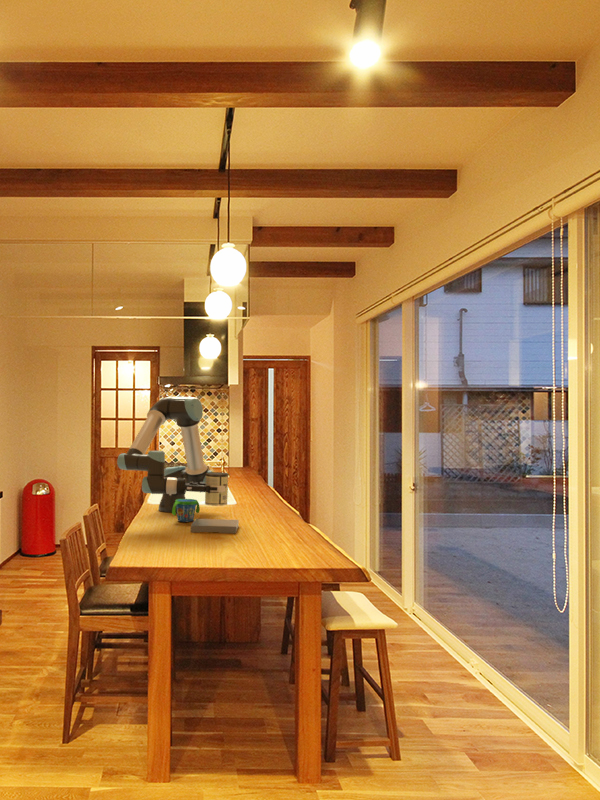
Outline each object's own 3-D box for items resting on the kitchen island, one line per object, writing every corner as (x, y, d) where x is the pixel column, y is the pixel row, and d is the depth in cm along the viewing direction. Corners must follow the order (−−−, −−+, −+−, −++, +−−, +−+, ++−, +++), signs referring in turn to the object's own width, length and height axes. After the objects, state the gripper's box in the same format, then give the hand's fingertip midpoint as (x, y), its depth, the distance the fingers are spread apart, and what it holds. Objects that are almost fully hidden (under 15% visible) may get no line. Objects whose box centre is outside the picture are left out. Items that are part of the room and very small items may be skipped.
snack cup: (192, 518, 331) (193, 497, 331) (205, 521, 323) (206, 500, 323) (165, 521, 320) (166, 499, 320) (178, 524, 312) (178, 502, 312)
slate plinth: (195, 525, 312) (195, 518, 312) (238, 526, 312) (238, 519, 312) (190, 532, 294) (190, 525, 294) (236, 533, 294) (236, 526, 294)
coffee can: (207, 502, 309) (208, 471, 309) (229, 503, 307) (230, 472, 308) (202, 505, 298) (203, 473, 298) (224, 506, 297) (225, 474, 297)
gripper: (180, 491, 314) (227, 492, 314) (172, 497, 291) (223, 499, 292) (180, 475, 314) (228, 476, 315) (173, 480, 291) (224, 481, 292)
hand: (226, 487), depth 303 cm, fingers closed on coffee can, 10 cm apart
